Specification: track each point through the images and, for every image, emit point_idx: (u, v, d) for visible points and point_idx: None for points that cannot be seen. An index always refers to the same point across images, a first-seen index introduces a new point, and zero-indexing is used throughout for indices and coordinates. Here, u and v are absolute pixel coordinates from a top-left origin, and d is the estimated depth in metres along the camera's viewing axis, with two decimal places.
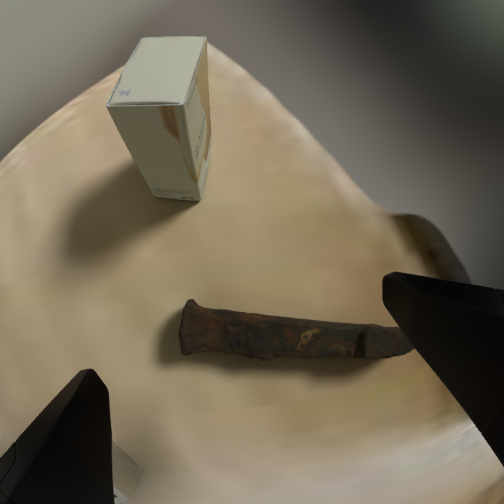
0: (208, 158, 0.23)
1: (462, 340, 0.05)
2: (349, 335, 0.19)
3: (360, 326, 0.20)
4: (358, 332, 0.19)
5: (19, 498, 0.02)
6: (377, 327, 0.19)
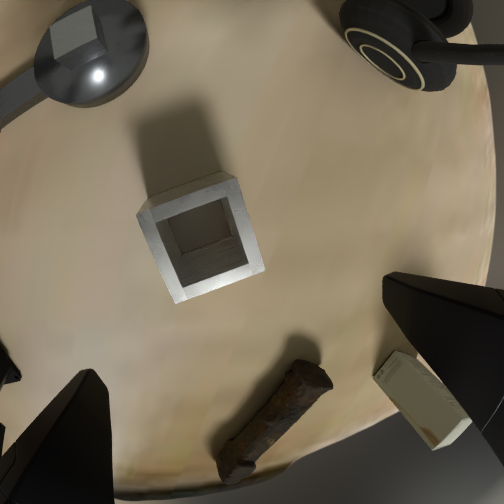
0: None
1: (462, 340, 0.05)
2: (255, 457, 0.24)
3: None
4: (254, 461, 0.24)
5: (18, 498, 0.02)
6: (253, 470, 0.24)
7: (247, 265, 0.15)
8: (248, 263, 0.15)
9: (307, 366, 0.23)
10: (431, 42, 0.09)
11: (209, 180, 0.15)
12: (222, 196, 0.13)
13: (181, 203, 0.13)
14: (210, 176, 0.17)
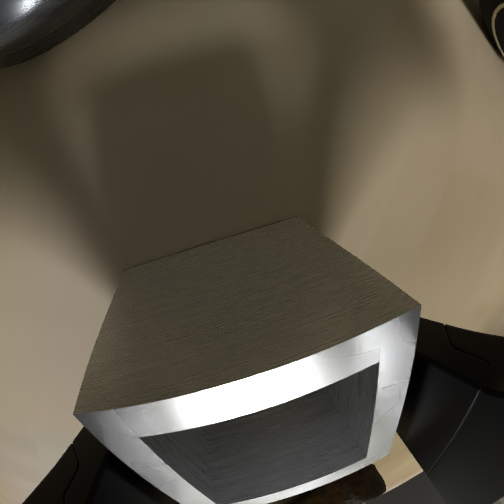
0: None
1: None
2: None
3: None
4: None
5: None
6: None
7: (362, 460, 0.05)
8: (365, 457, 0.05)
9: (357, 472, 0.14)
10: None
11: (293, 266, 0.05)
12: (367, 363, 0.04)
13: (228, 398, 0.03)
14: (276, 235, 0.07)
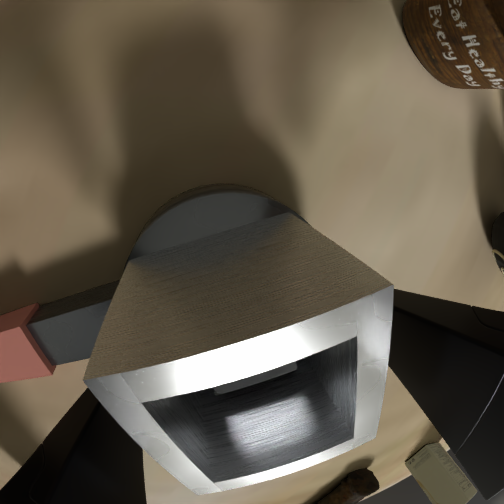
0: None
1: (433, 361, 0.05)
2: None
3: None
4: None
5: None
6: None
7: (349, 441, 0.06)
8: (352, 437, 0.06)
9: (359, 478, 0.22)
10: None
11: (282, 254, 0.06)
12: (346, 337, 0.04)
13: (221, 363, 0.04)
14: (269, 228, 0.08)
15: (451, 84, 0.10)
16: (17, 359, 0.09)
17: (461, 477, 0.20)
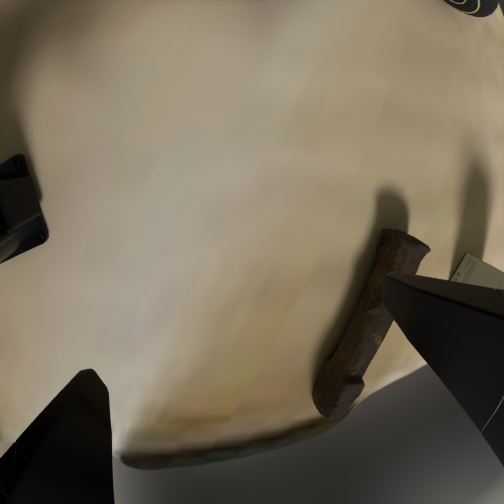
0: None
1: (462, 340, 0.05)
2: (363, 369, 0.22)
3: (362, 376, 0.23)
4: (361, 376, 0.22)
5: (18, 497, 0.02)
6: None
7: None
8: None
9: (397, 230, 0.20)
10: None
11: None
12: None
13: None
14: None
15: None
16: None
17: None
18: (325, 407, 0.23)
